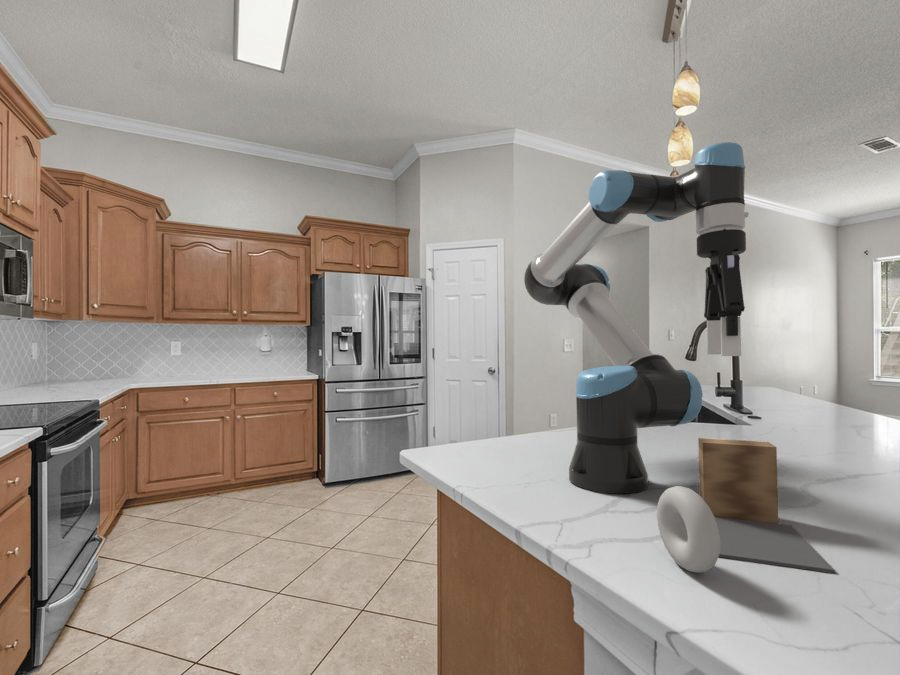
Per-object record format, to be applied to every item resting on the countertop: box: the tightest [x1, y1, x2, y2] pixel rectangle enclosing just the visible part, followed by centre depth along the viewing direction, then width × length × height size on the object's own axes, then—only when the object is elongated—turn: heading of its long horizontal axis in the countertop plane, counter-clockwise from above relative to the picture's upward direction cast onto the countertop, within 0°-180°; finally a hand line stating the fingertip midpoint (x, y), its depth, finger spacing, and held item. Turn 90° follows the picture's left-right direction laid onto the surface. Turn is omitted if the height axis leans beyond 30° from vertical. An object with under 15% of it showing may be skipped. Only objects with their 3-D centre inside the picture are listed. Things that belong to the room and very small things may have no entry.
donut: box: [656, 485, 721, 573], centre depth 55 cm, size 10×4×10 cm, turn 5°
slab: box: [697, 437, 779, 524], centre depth 71 cm, size 10×4×12 cm, turn 69°
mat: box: [715, 517, 836, 574], centre depth 62 cm, size 13×14×1 cm
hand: (723, 355), depth 78 cm, fingers open, 11 cm apart
